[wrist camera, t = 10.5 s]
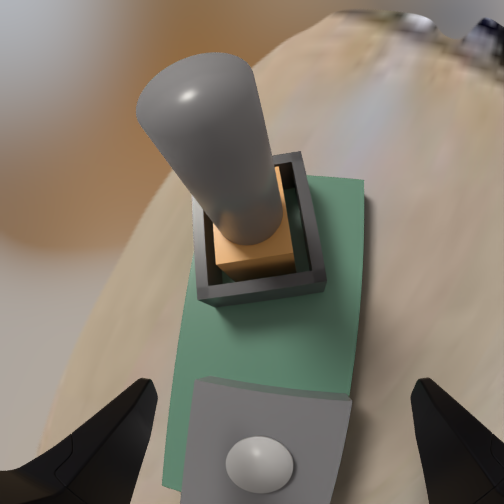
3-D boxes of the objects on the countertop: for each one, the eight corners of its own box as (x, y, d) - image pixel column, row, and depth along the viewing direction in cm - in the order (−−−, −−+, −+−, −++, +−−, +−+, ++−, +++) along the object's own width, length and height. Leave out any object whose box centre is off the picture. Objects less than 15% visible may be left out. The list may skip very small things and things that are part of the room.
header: (324, 291, 17) (327, 281, 14) (214, 307, 18) (197, 299, 15) (302, 178, 19) (300, 151, 16) (206, 195, 20) (191, 172, 17)
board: (321, 506, 14) (322, 517, 13) (171, 477, 16) (162, 485, 15) (360, 191, 20) (363, 180, 18) (216, 182, 22) (210, 171, 20)
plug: (296, 273, 17) (272, 140, 6) (235, 282, 18) (121, 175, 7) (284, 201, 19) (250, 31, 8) (228, 211, 19) (141, 61, 8)
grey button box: (321, 508, 13) (322, 532, 10) (195, 487, 15) (177, 506, 12) (346, 393, 15) (353, 402, 12) (209, 375, 17) (191, 380, 14)
